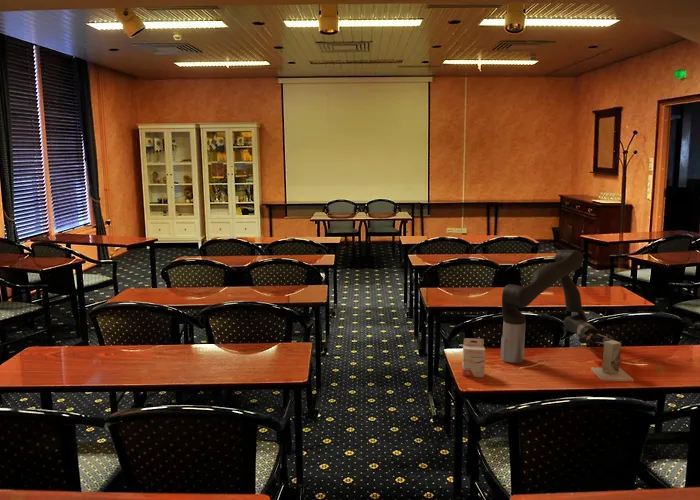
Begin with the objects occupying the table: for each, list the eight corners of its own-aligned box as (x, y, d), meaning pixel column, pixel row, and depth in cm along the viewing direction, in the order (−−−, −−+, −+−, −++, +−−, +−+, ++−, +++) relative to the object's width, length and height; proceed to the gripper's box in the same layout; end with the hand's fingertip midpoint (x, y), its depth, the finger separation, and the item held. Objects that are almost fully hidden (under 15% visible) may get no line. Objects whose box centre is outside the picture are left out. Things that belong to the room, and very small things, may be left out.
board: (602, 380, 220) (602, 378, 220) (590, 369, 232) (591, 367, 232) (633, 381, 219) (633, 379, 219) (620, 369, 231) (620, 368, 231)
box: (610, 375, 224) (613, 344, 222) (601, 371, 227) (603, 341, 225) (619, 372, 226) (621, 342, 224) (610, 369, 230) (612, 339, 228)
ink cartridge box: (463, 376, 225) (464, 341, 222) (461, 372, 230) (462, 337, 227) (484, 377, 224) (485, 342, 222) (482, 372, 229) (484, 338, 226)
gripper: (572, 324, 251) (585, 336, 235) (605, 325, 250) (620, 336, 234) (571, 340, 252) (584, 353, 236) (603, 341, 251) (619, 353, 235)
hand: (602, 344), depth 235 cm, fingers open, 8 cm apart
